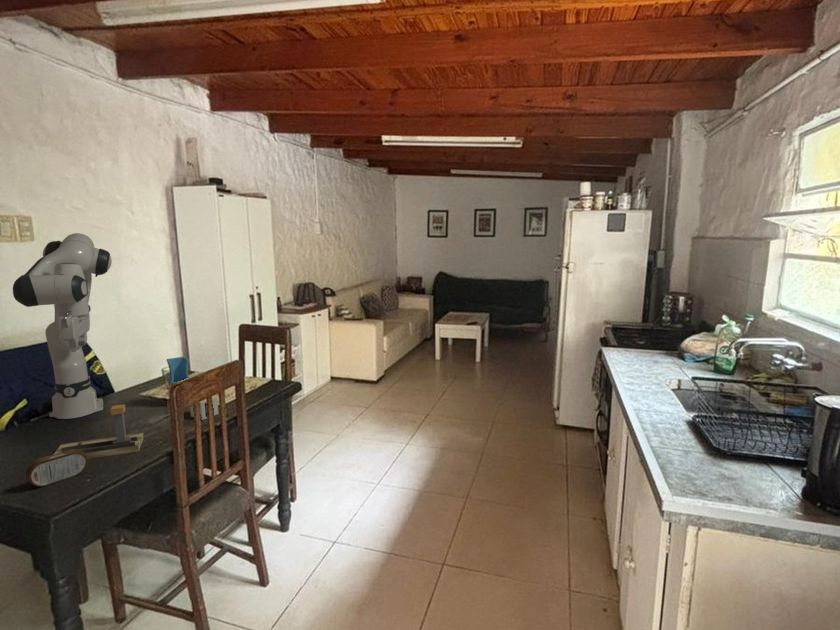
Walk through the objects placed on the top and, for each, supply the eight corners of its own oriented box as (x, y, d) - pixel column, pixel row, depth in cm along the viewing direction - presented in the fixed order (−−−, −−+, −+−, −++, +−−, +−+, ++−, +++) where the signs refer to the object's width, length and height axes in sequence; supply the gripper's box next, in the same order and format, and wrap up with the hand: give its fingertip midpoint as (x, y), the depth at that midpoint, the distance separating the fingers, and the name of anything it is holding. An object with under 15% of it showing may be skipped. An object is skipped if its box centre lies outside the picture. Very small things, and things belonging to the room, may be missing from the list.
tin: (87, 469, 151) (84, 444, 149) (90, 472, 149) (87, 447, 147) (27, 489, 139) (23, 462, 138) (30, 492, 137) (26, 465, 136)
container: (219, 414, 196) (216, 383, 194) (202, 420, 190) (199, 389, 188) (207, 410, 200) (204, 381, 198) (190, 416, 194) (187, 386, 192)
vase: (173, 407, 204) (168, 362, 201) (170, 402, 210) (165, 359, 207) (193, 403, 209) (189, 359, 206) (189, 398, 215) (185, 356, 212)
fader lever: (115, 443, 164) (110, 406, 162) (131, 441, 166) (127, 404, 164) (112, 447, 161) (108, 409, 158) (129, 445, 163) (125, 407, 160)
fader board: (61, 449, 164) (60, 441, 164) (143, 437, 174) (142, 429, 173) (50, 465, 154) (48, 455, 153) (138, 451, 163) (137, 442, 162)
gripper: (76, 313, 156) (81, 354, 159) (91, 305, 175) (96, 342, 177) (52, 314, 154) (58, 356, 156) (71, 306, 173) (75, 343, 175)
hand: (78, 348), depth 167 cm, fingers open, 8 cm apart
